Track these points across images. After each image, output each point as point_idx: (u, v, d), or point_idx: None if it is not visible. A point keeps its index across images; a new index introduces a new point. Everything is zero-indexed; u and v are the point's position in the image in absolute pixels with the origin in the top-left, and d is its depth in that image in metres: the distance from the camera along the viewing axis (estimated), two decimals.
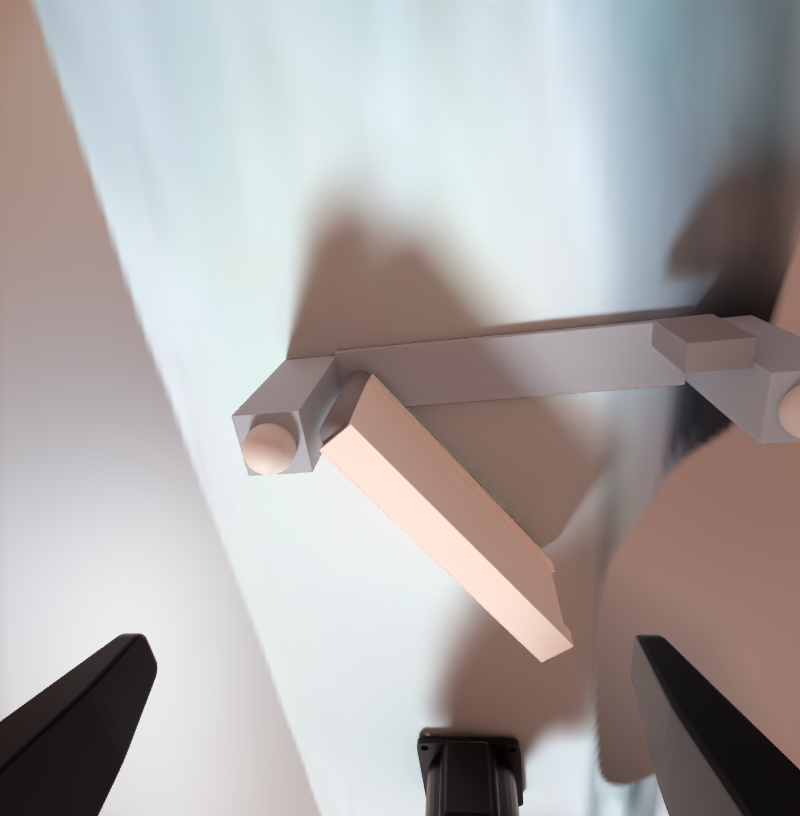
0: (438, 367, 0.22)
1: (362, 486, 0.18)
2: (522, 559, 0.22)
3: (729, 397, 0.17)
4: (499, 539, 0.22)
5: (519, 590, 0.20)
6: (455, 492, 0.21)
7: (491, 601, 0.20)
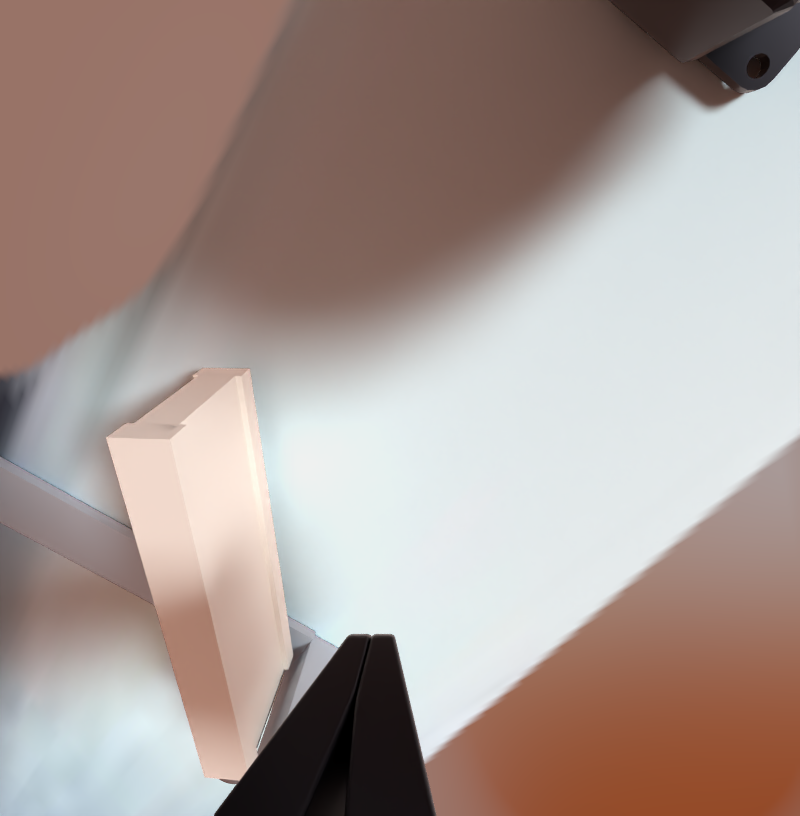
0: None
1: (236, 742, 0.16)
2: None
3: None
4: None
5: (143, 554, 0.13)
6: None
7: (184, 568, 0.13)
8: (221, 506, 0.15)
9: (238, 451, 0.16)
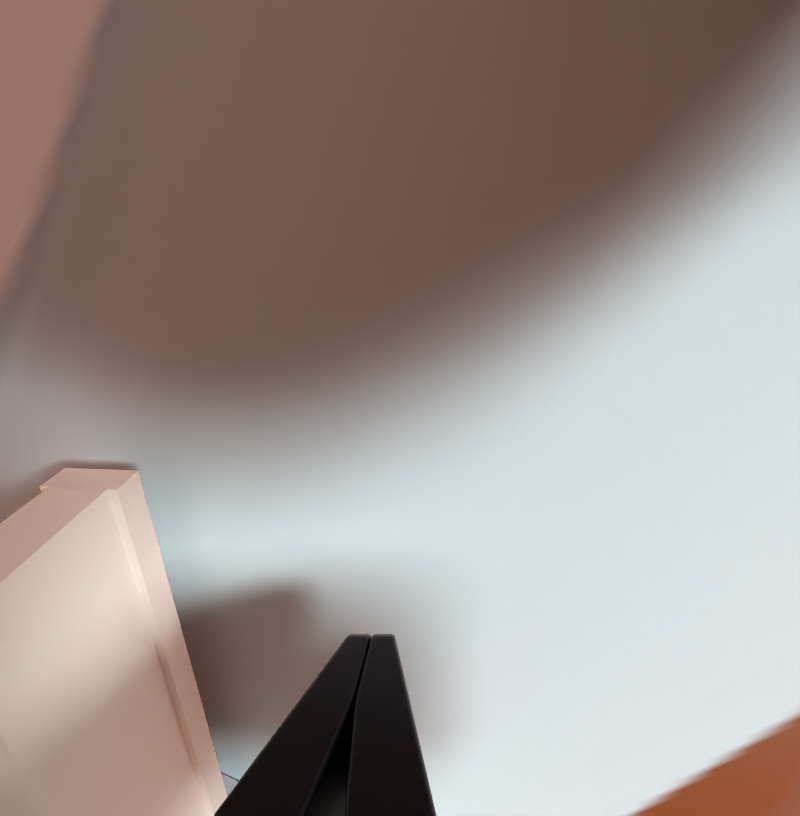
0: None
1: None
2: None
3: None
4: None
5: None
6: None
7: None
8: (72, 721, 0.09)
9: (116, 606, 0.10)
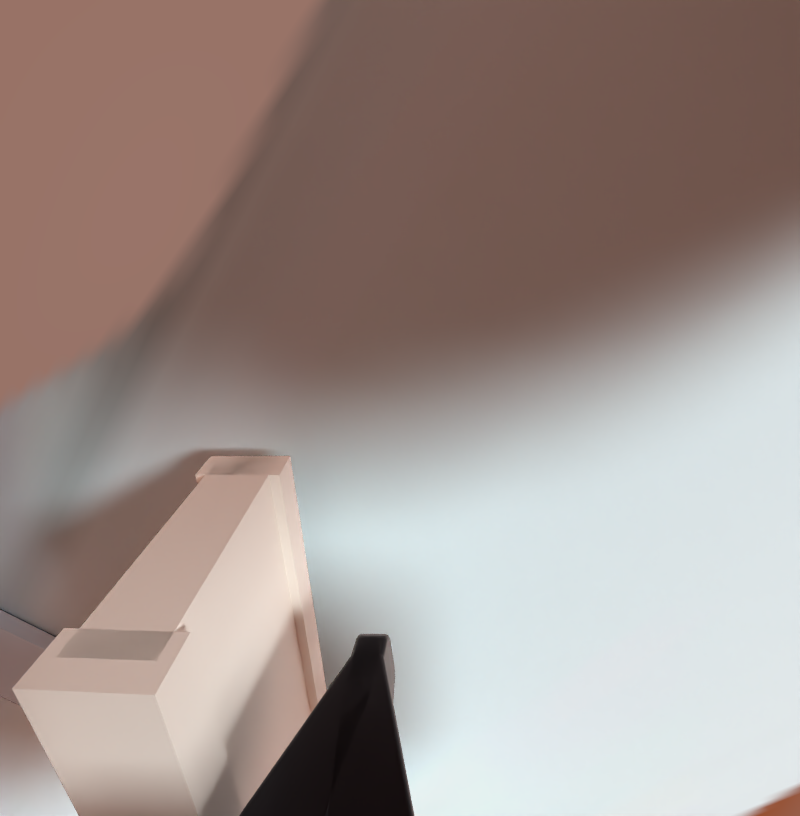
0: None
1: None
2: None
3: None
4: None
5: None
6: None
7: None
8: (254, 717, 0.08)
9: (276, 598, 0.09)
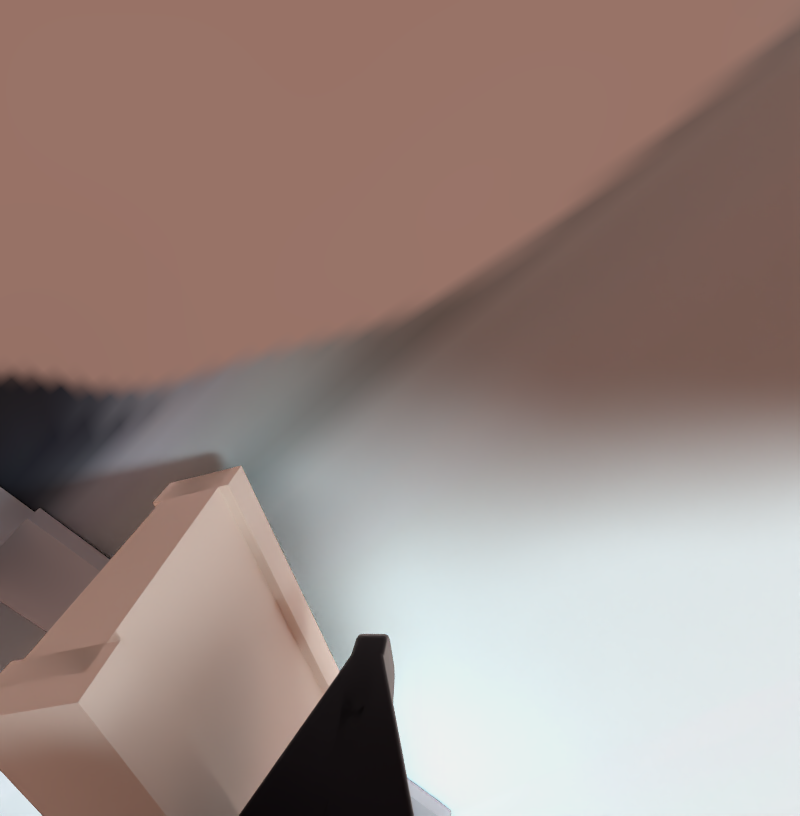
0: None
1: None
2: None
3: None
4: None
5: None
6: None
7: None
8: (247, 723, 0.08)
9: (255, 605, 0.10)
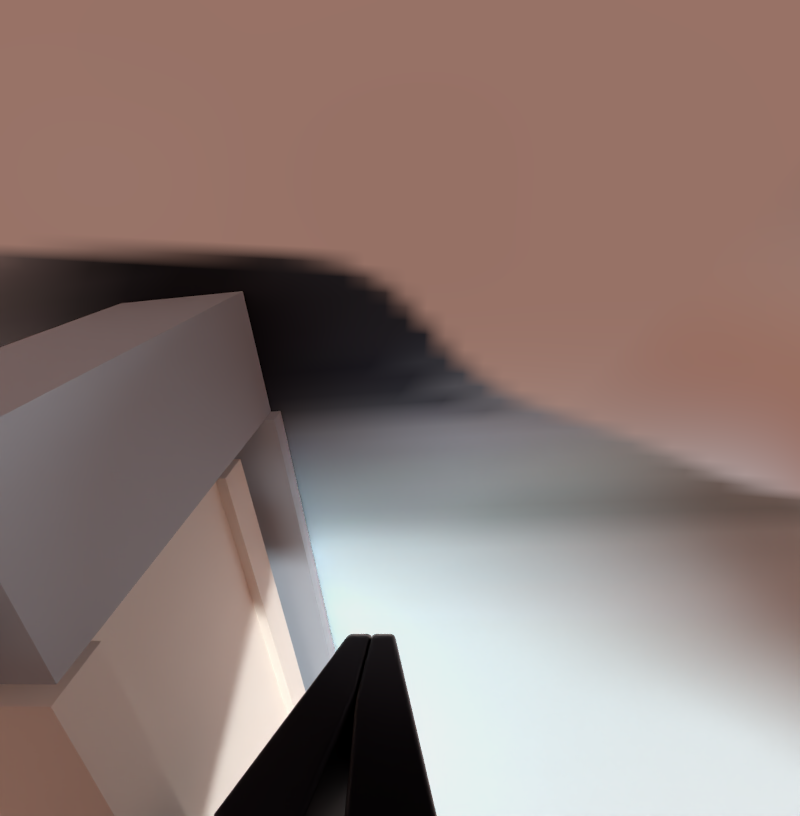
0: None
1: None
2: None
3: None
4: None
5: None
6: None
7: None
8: (206, 726, 0.08)
9: (232, 603, 0.09)
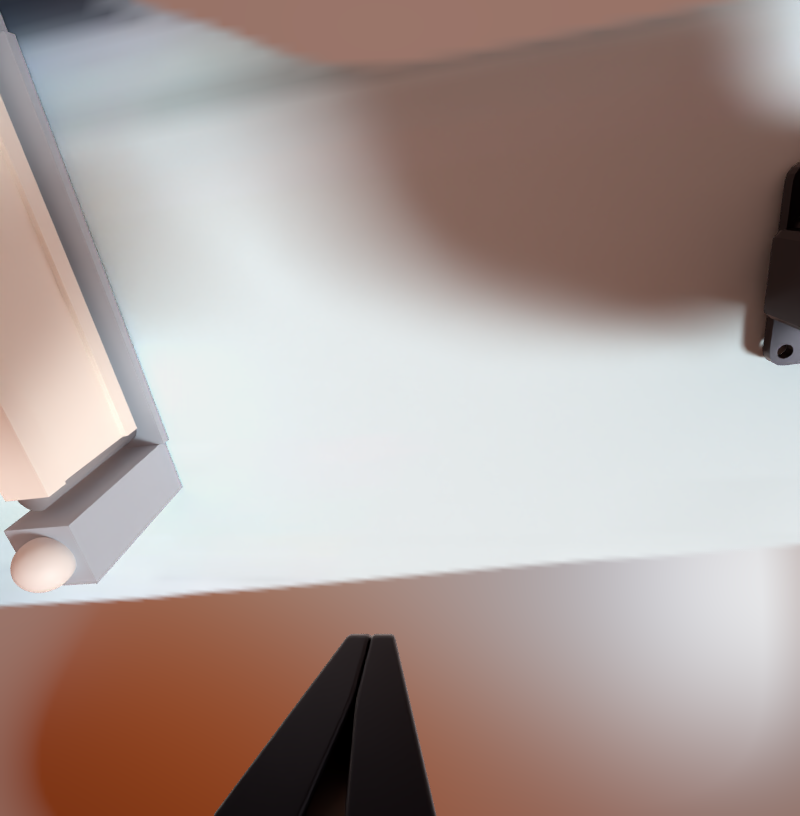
0: None
1: (15, 440, 0.15)
2: None
3: None
4: None
5: None
6: None
7: None
8: None
9: None
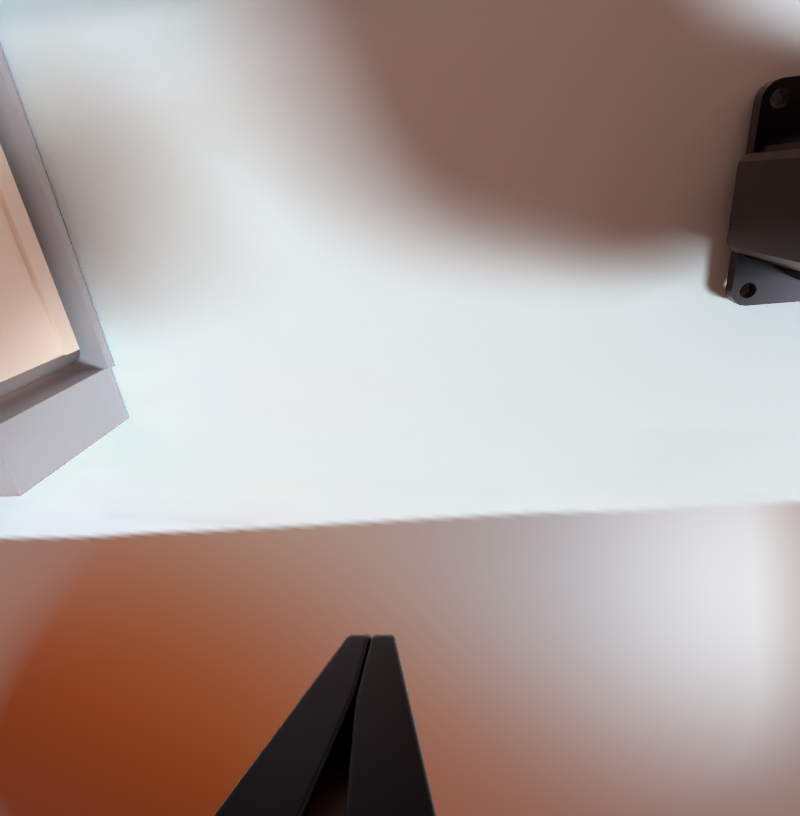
0: None
1: None
2: None
3: None
4: None
5: None
6: None
7: None
8: None
9: None
